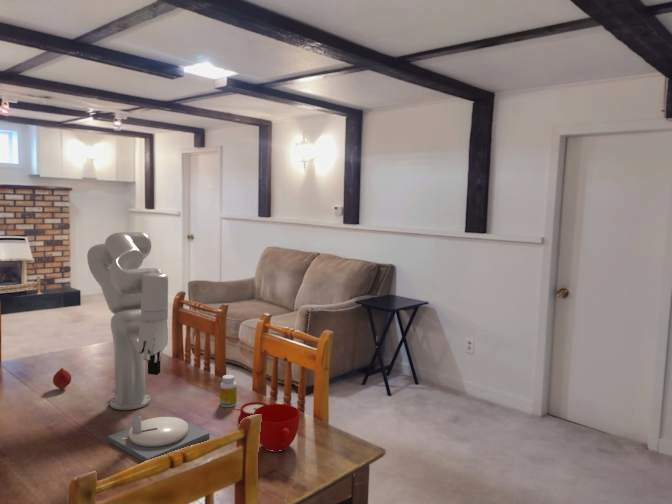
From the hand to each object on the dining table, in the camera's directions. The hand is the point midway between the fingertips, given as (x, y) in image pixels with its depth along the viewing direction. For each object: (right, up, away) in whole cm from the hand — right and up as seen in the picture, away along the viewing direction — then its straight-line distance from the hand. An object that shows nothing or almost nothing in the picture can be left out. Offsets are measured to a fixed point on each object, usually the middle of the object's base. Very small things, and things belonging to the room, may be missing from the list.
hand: (154, 373), depth 159 cm
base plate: (+4, -17, -7) cm, 19 cm away
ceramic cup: (+39, -19, -11) cm, 44 cm away
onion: (-43, -12, +29) cm, 53 cm away
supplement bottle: (+18, -15, +19) cm, 31 cm away
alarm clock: (+30, -17, +7) cm, 36 cm away
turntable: (+4, -16, -7) cm, 18 cm away
